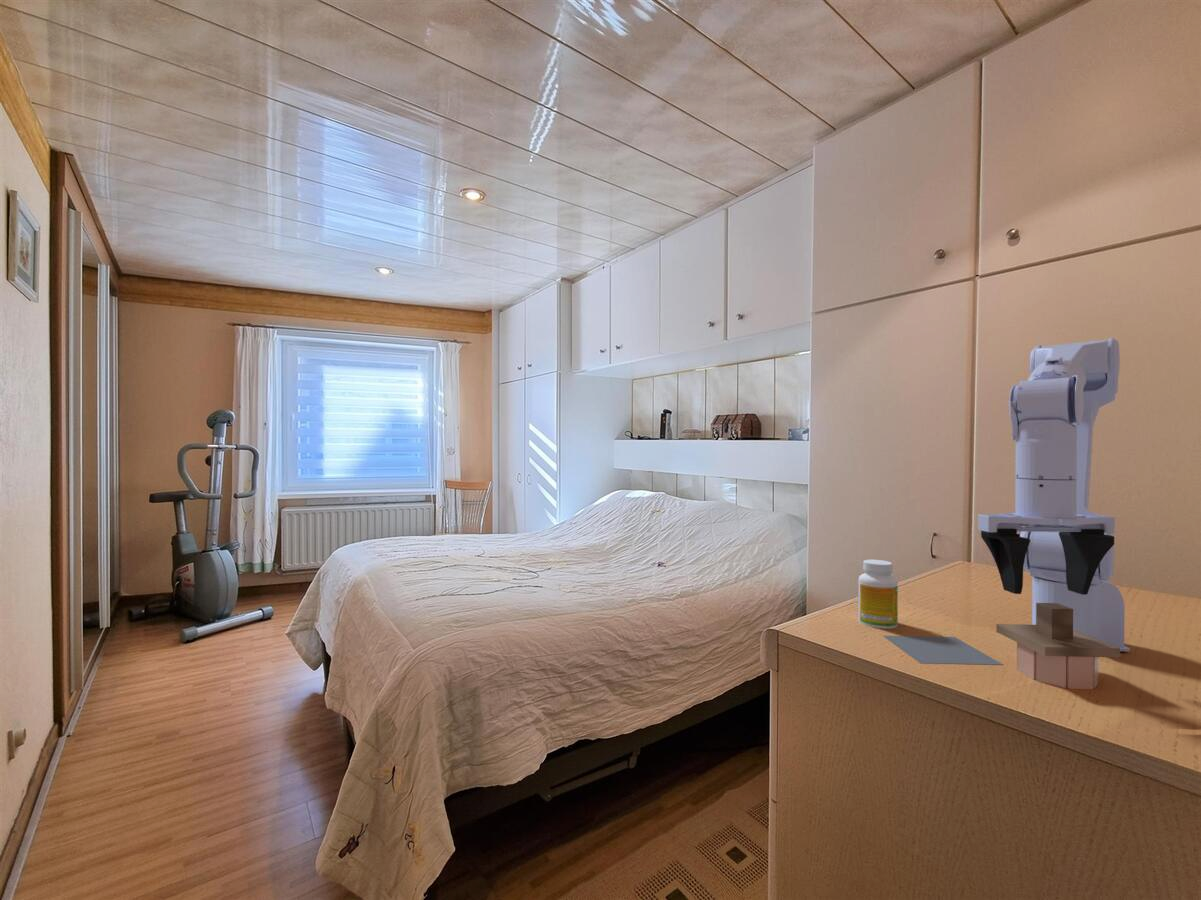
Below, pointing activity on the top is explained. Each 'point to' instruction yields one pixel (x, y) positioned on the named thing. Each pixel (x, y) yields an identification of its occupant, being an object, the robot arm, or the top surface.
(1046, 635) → the lid
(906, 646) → the mat
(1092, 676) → the bowl
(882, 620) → the supplement bottle
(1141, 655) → the top surface
